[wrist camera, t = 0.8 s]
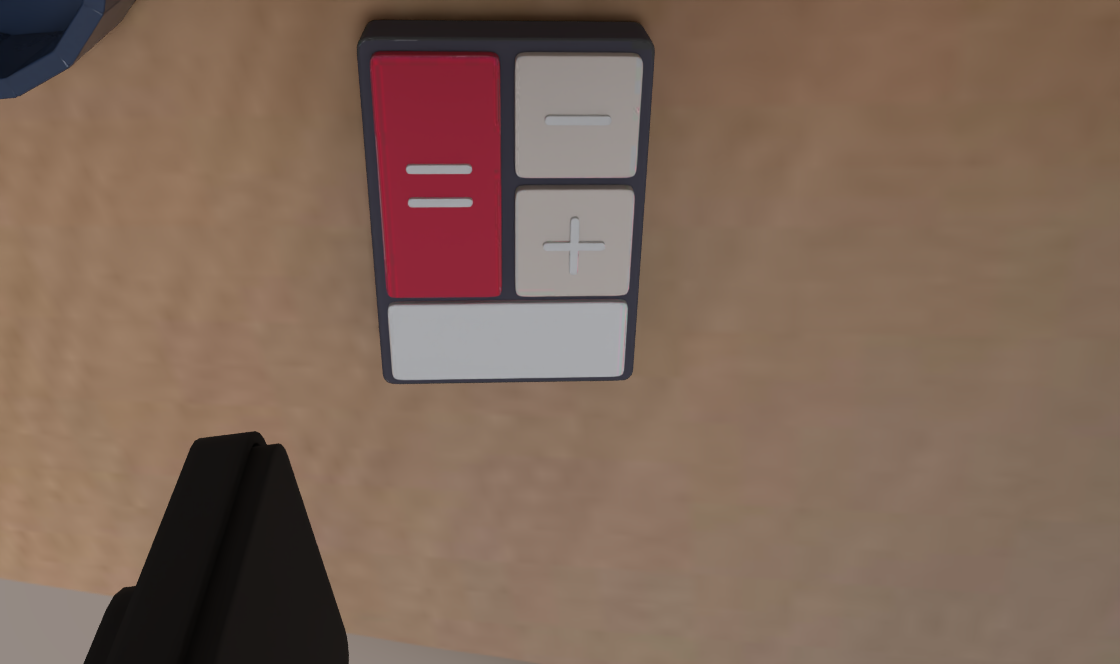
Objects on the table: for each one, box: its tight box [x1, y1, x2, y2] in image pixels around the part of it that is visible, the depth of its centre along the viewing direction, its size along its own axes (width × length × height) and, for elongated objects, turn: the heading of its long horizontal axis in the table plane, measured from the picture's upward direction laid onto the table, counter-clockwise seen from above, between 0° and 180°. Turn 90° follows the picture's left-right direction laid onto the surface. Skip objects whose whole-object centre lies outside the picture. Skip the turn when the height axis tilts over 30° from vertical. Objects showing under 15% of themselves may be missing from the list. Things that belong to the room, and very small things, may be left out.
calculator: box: [357, 20, 655, 384], centre depth 41 cm, size 11×4×15 cm
